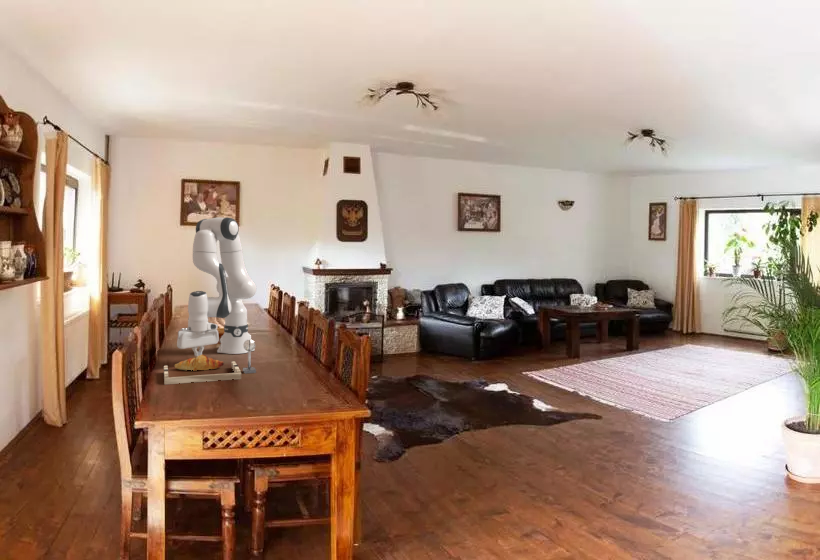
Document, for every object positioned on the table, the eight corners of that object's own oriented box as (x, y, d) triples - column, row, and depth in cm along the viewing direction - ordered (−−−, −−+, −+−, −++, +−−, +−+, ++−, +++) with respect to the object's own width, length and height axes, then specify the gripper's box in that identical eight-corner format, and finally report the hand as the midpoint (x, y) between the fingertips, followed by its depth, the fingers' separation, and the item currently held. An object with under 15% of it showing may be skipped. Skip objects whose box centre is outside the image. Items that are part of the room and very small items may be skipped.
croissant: (173, 379, 257) (172, 365, 253) (176, 364, 265) (174, 350, 261) (223, 376, 262) (222, 362, 258) (224, 361, 270) (223, 348, 266)
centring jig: (163, 372, 254) (163, 364, 253) (235, 367, 266) (235, 360, 265) (164, 384, 233) (164, 376, 233) (241, 378, 245) (241, 370, 245)
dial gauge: (242, 371, 260) (242, 339, 259) (254, 370, 262) (254, 338, 261) (244, 373, 255) (244, 341, 254) (255, 372, 257) (256, 340, 256)
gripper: (182, 329, 259) (182, 360, 260) (220, 324, 276) (220, 353, 277) (173, 328, 263) (174, 358, 264) (212, 323, 279) (212, 351, 280)
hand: (198, 355), depth 270 cm, fingers closed
